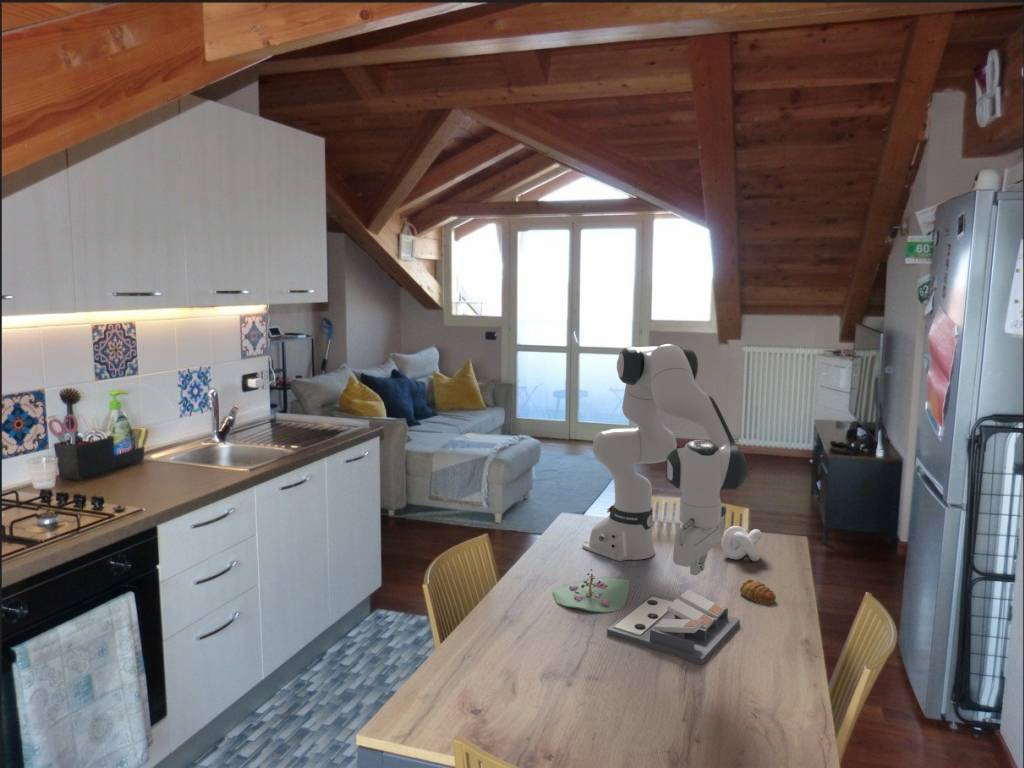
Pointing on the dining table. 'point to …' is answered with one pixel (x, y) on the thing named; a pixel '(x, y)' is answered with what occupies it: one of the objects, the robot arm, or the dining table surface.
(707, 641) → the switch unit
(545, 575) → the dining table surface
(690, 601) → the switch far
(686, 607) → the switch middle
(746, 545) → the white knot sculpture
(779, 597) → the dining table surface
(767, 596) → the pastry
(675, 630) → the switch near
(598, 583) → the plant
